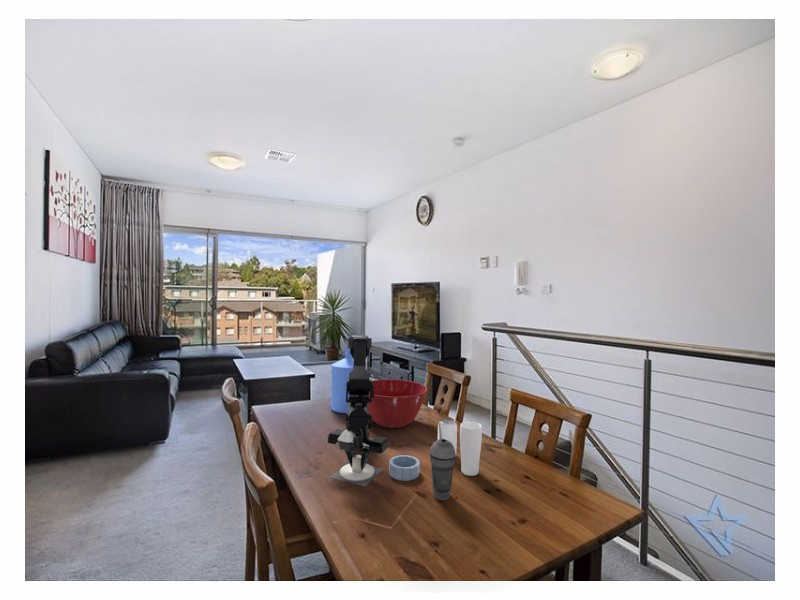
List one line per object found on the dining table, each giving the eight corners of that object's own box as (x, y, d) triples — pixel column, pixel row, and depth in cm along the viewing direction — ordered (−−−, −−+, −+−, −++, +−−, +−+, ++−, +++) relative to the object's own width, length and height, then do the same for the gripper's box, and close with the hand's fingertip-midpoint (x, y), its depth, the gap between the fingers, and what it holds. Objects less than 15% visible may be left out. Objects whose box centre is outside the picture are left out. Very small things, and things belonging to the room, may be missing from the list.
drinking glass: (482, 469, 124) (483, 423, 123) (479, 479, 117) (480, 430, 117) (460, 466, 126) (462, 420, 125) (456, 475, 119) (458, 427, 119)
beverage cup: (447, 506, 102) (450, 430, 102) (423, 497, 106) (425, 425, 106) (459, 494, 109) (461, 422, 108) (435, 486, 112) (437, 417, 112)
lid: (333, 476, 116) (333, 460, 116) (350, 462, 126) (351, 448, 125) (364, 484, 112) (365, 467, 112) (380, 469, 122) (380, 453, 121)
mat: (329, 478, 116) (329, 477, 116) (350, 462, 127) (350, 461, 127) (365, 487, 111) (365, 486, 111) (383, 469, 122) (383, 468, 122)
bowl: (384, 477, 117) (384, 464, 117) (396, 465, 125) (396, 453, 125) (412, 484, 113) (413, 470, 113) (423, 471, 122) (423, 458, 122)
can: (455, 460, 130) (456, 425, 129) (436, 458, 131) (437, 423, 131) (456, 452, 136) (457, 418, 136) (438, 450, 137) (439, 417, 137)
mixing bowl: (437, 420, 170) (438, 385, 170) (403, 440, 146) (404, 400, 146) (384, 408, 185) (385, 376, 185) (345, 425, 161) (346, 388, 161)
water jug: (354, 415, 173) (356, 353, 173) (324, 411, 179) (325, 350, 178) (369, 406, 188) (370, 348, 187) (340, 402, 193) (341, 346, 193)
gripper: (317, 420, 115) (316, 473, 115) (373, 431, 107) (372, 487, 108) (337, 410, 125) (336, 458, 125) (390, 419, 118) (389, 470, 118)
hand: (357, 468), depth 119 cm, fingers closed on lid, 3 cm apart
